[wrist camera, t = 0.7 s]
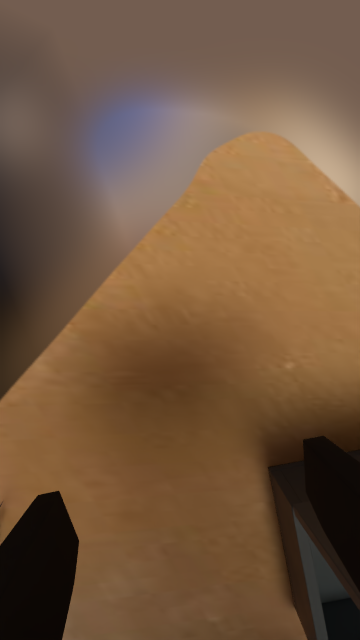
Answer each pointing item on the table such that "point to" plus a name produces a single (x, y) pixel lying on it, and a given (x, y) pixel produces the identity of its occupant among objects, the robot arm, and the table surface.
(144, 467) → the table surface
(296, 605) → the cooker
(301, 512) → the lid
